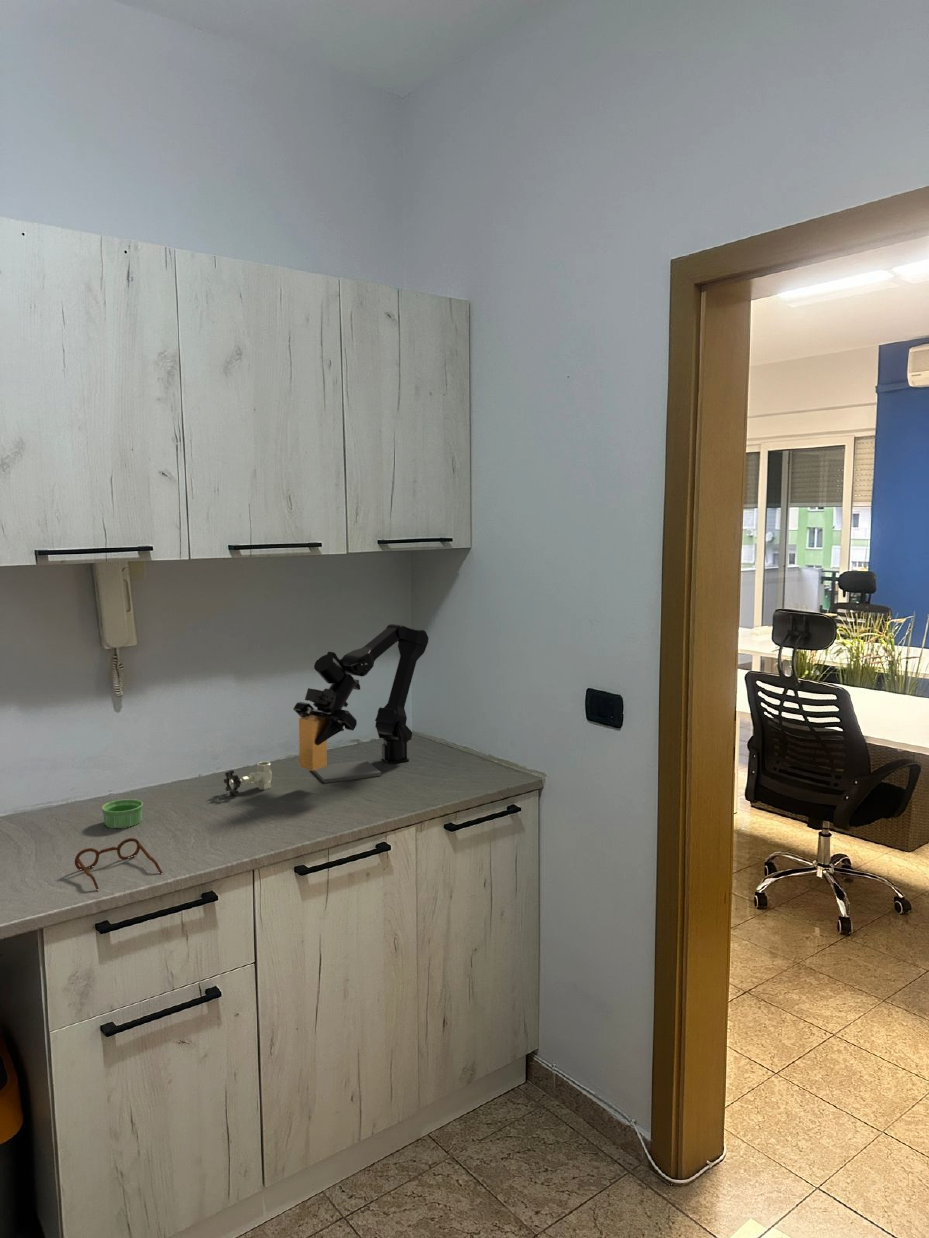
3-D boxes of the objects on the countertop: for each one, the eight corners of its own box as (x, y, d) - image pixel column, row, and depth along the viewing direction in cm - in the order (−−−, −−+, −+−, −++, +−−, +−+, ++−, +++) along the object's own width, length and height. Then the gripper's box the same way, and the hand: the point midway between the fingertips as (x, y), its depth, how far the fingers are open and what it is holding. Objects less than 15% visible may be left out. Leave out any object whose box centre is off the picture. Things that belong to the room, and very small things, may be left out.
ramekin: (98, 831, 202) (97, 812, 202) (106, 817, 211) (105, 800, 210) (140, 828, 204) (139, 810, 203) (146, 815, 213) (145, 797, 212)
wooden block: (313, 762, 237) (313, 714, 235) (326, 765, 234) (326, 717, 232) (299, 766, 233) (299, 718, 231) (312, 770, 230) (312, 721, 228)
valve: (264, 783, 238) (223, 793, 230) (263, 759, 237) (223, 768, 229) (278, 788, 233) (236, 799, 225) (277, 764, 232) (236, 773, 224)
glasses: (139, 857, 188) (138, 834, 188) (163, 876, 179) (163, 852, 178) (74, 873, 180) (73, 850, 179) (96, 894, 170) (95, 869, 169)
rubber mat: (365, 763, 256) (365, 760, 256) (381, 775, 244) (381, 772, 244) (311, 770, 249) (311, 766, 249) (324, 783, 238) (324, 779, 238)
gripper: (297, 672, 239) (267, 720, 231) (348, 680, 228) (318, 731, 221) (319, 696, 246) (290, 743, 239) (369, 704, 235) (341, 754, 228)
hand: (309, 742), depth 231 cm, fingers closed on wooden block, 5 cm apart
